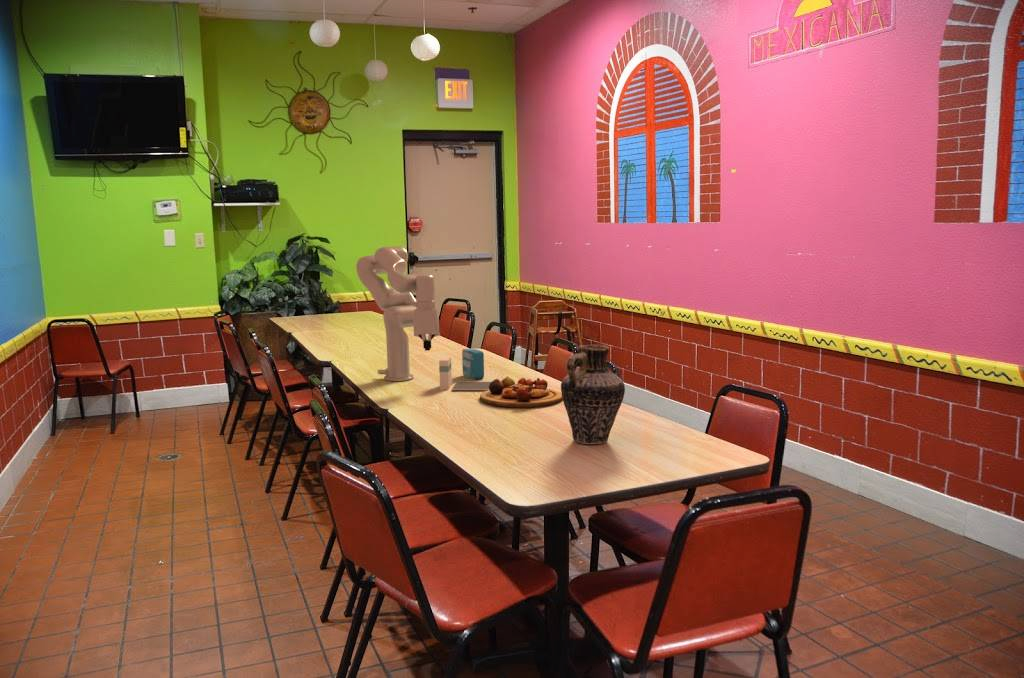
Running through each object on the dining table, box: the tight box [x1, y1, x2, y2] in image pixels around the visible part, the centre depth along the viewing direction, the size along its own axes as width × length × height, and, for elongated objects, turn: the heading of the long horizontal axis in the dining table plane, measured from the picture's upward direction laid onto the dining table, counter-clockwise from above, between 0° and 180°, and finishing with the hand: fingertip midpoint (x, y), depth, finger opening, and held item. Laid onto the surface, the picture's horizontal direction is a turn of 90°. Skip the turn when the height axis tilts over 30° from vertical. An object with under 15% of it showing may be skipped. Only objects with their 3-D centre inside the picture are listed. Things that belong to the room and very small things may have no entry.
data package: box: [461, 347, 485, 380], centre depth 352 cm, size 12×4×12 cm, turn 30°
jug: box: [560, 344, 626, 446], centre depth 248 cm, size 21×19×30 cm
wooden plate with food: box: [479, 376, 563, 408], centre depth 309 cm, size 32×32×8 cm
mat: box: [451, 381, 492, 392], centre depth 332 cm, size 19×16×1 cm
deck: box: [438, 356, 453, 390], centre depth 332 cm, size 4×9×12 cm, turn 176°
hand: (427, 350), depth 330 cm, fingers closed
